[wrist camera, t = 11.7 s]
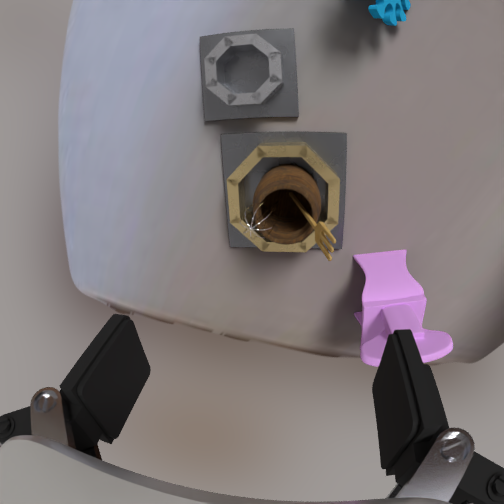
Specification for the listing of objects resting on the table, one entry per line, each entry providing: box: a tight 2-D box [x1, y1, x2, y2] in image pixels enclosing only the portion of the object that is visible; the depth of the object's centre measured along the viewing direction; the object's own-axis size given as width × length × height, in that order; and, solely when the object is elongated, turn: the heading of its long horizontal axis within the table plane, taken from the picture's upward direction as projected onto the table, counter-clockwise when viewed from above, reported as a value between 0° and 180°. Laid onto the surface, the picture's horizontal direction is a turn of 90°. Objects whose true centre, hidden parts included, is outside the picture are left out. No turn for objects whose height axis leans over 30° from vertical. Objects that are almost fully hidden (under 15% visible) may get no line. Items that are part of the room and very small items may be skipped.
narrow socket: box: [200, 28, 299, 121], centre depth 23 cm, size 9×9×4 cm
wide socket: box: [221, 132, 347, 252], centre depth 28 cm, size 12×12×4 cm
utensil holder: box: [240, 164, 336, 261], centre depth 24 cm, size 6×6×12 cm
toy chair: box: [353, 250, 453, 367], centre depth 26 cm, size 8×9×15 cm
